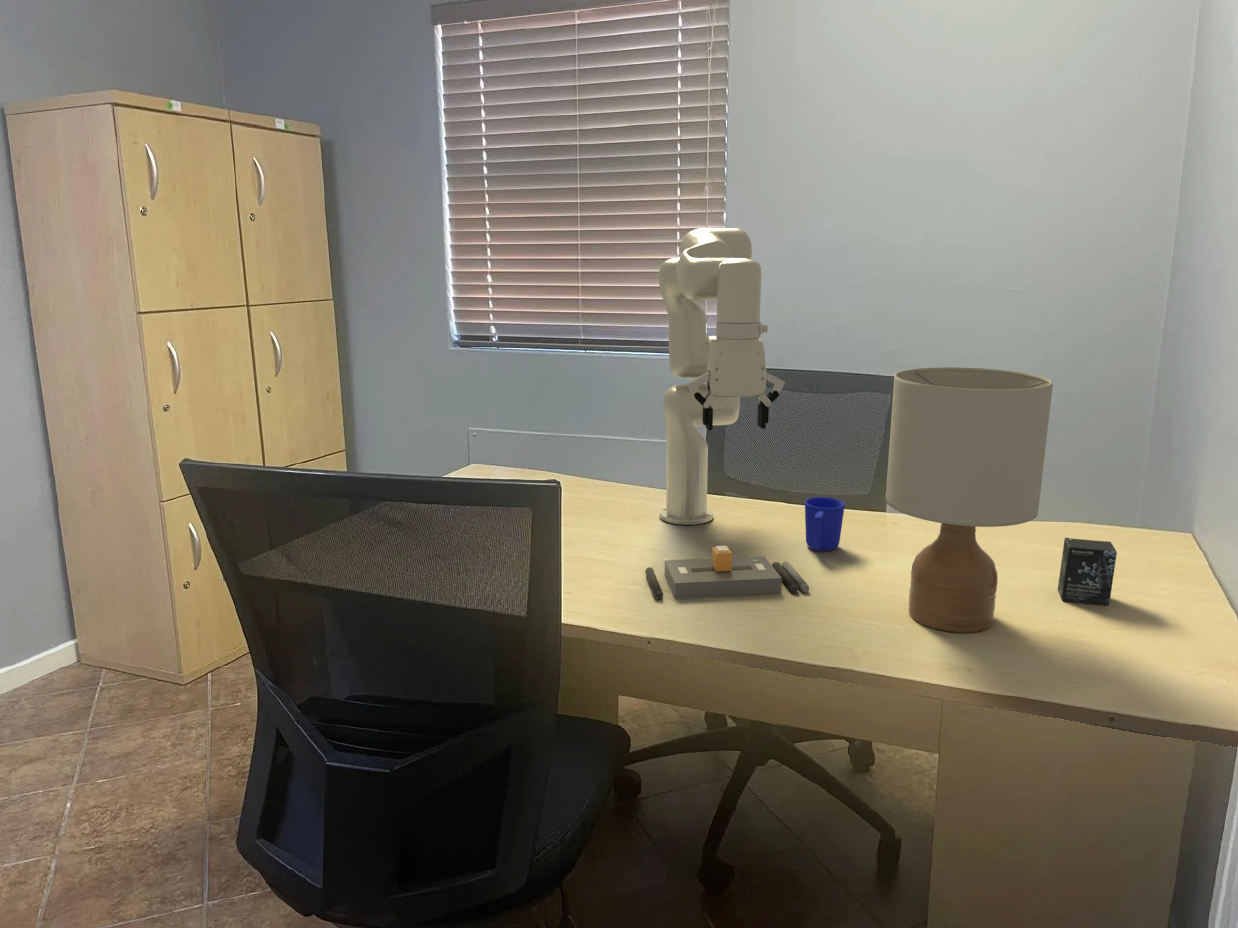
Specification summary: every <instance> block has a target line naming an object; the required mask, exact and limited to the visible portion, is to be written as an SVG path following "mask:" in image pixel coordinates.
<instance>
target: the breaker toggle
mask: <svg viewBox="0 0 1238 928" xmlns="http://www.w3.org/2000/svg"><path fill="white" fill-rule="evenodd" d="M711 550H712V552H711V558H712V566H713V568H714V569H715V571H716V572H720V571H732V557H733V552H732V551H731V549H730V547H729V546H727V545H715V546H714V547H713V546H712V549H711Z"/></svg>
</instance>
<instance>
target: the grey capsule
mask: <svg viewBox="0 0 1238 928" xmlns="http://www.w3.org/2000/svg"><path fill="white" fill-rule="evenodd" d="M771 565H772V566H773V567H774V569H775V570H776V571H777V573H778V574H779V575H780V576H781V578H782V581H783V583H784V584H785V585H786V587H787V588H788V589H789V590H790V592H791V593H792V594H796V593H798V592H799V590H800V588H799V587H798V586H797V584H796V583H795V582H794V581H793V579H792V578H791V577H790V576H789V574H788V573H787V572H786V571H785V569H784V568H783V567H782V564H781V563H780V562H778V561H774V562H772V564H771Z"/></svg>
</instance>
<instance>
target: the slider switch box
mask: <svg viewBox="0 0 1238 928" xmlns="http://www.w3.org/2000/svg"><path fill="white" fill-rule="evenodd" d="M772 565H773V564H771V562H770V561H769V560H768V558H767V556H765V555H759V556H758V555H757V556H756V555H755V556H752V555H751V556H732V571H720V572H716V571H715V569H714V568H713V566H712V557H707V558H690V559H689V558H687V559H665V560H664V577H665V579H666V580H667V583H668V586H669V588H670V590H671V592H672V594H673V597H674V599H686V598H687V599H689V598H691V599H693V598H710V597H729V596H730V597H732V596H748V595H750V596H751V595H755V596H756V595H771V594H775V595H776V594H782V585H783V584H782V581H783V580H782V578H781V576H780V575H779V574H778V573H777V571H776V570H775V569H774V567H773V566H772Z"/></svg>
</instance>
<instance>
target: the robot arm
mask: <svg viewBox="0 0 1238 928" xmlns="http://www.w3.org/2000/svg"><path fill="white" fill-rule="evenodd" d="M679 250H680V251H679V252H680V256H679V257H675V258H670V259H667V260H665V261H664V262H662V263H661V265H660V267H659V270H658V283H659V284H658V285H659V291H660V295H661V297H662V300H663V303H664V307H665V308H666V313H667V318H668V361H669V363H668V364H669V369H670V372H671V374H672V375H673V376H675V377H676V378H680V379H692V380H690V381H689V382H688V383H687V384H685V383H683V384H677V385H673V386H671V387H670V388H668V389H667V390H666V391H665V393H664V395H663V399H662V401H663V402H662V407H663V415H664V420H665V421H664V422H665V430H666V491H665V492H666V493H665V494H666V500H665V501H666V502H665V503H666V505H665V506H666V507H664V508H662V509H661V510H660V511H659V518H660V519H661V520H662V521H664V522H666V523H669V524H675V525H685V526H692V525H700V524H705V523H706V524H707V523H709V522H710V521H712V520H713V518H714V512H713V511H712V510H711V509H709V508H708V507H707V506H708V466H709V465H708V462H709V460H708V459H709V456H708V455H709V454H708V453H709V447H708V446H709V445H708V443H707V442H708V441H707V440H706V438H705V437H704V436H703V434H701V432H700V431H699V430H698V427H705V428H706V429H707V431H712V430H713V428H714V426H726V425H727V426H728V425H733V424H735V422H736V421H738V419H739V415H740V409H741V408H740V407H741V398H751V397H753V398H755V397H756V398H757V400H759V403H758V405H757V420H756V421H757V423H756V424H757V427H758V428H760V429H763V430H765V429H766V427H767V425H766V424H769V419H770V418H769V417H770V416H769V413H770V412H769V409H770V407H771V405H772V403H774V401H775V400H777V398H778V397H779V396H780V393H781V392H782V390H783V388H784V386H785V384H786V382H785V381H784V380H783V379H780V378H779V377H776V376H775V375H773V374H771V373H770V372H767V364H766V354H765V347H764V341H763V340H762V339H760V338H761V335H763V334H766V333H768V325H767V324H766V325H764V324H762V323H761V294H762V293H761V292H762V290H761V289H762V267H761V265H760V263H759V261H756V260H753V259H752V250H753V246H752V242H751V238H750V236H749V234H748V232H746V231H745V230H743V229H742V228H737V227H726V228H724V227H708V228H707V227H701V228H696V229H694V230H691V231H689V232H687V233H686V234H685V235H684V237H683V238H682V240H681V242H680V249H679ZM699 301H701V302H703V301H716V325H715V326H716V327H715V328H716V329H715V330H716V331H715V334H716V335H708V333H707V315H706V314H707V313H706V312H705V310H704V308H703V307H702V305H701V304H700V302H699ZM767 381H768V382H769V383H772V384H773V386H772V390H770V391H769V393H768V394H766V390H767Z"/></svg>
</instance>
